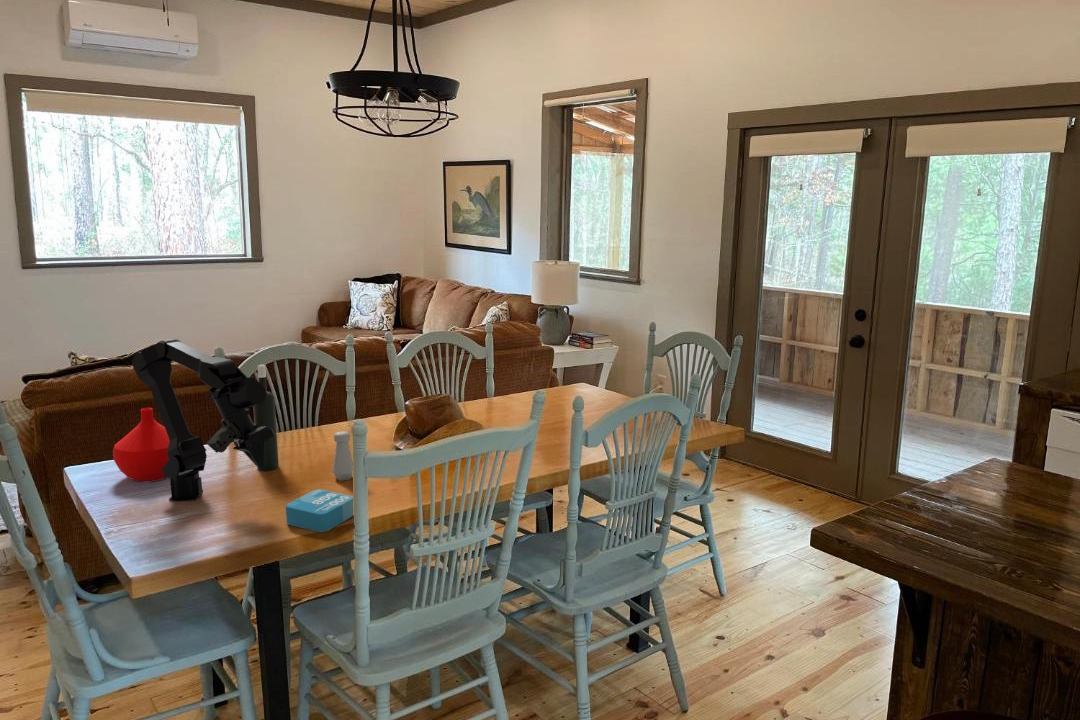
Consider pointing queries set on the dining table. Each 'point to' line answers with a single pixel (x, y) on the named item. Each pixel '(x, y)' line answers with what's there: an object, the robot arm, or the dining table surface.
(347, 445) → the salt shaker
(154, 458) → the vase
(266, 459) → the wine bottle
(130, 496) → the dining table surface
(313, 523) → the data package
